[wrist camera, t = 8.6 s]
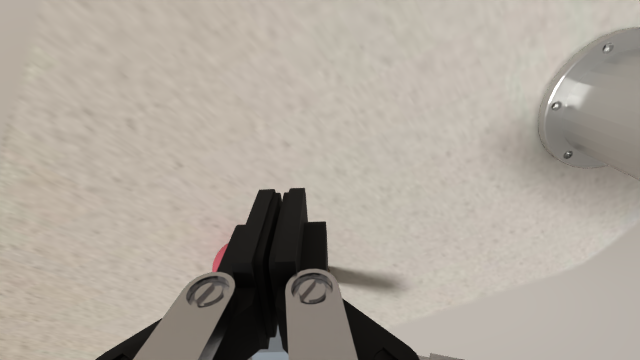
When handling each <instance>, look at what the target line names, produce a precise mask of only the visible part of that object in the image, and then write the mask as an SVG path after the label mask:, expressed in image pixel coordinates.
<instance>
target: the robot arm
mask: <svg viewBox="0 0 640 360" xmlns="http://www.w3.org/2000/svg"><path fill="white" fill-rule="evenodd" d="M538 130H539V135H540V138H541V142H542V143H543V145H544V147H545V148H546V150H547V151H548V152H549V153H550V154H551V155H552V156H553V157H555V158H556V159H558V160H560V161H562V162H563V163H566V164H568V165H571V166H574V167H580V168H598V167H603V166H608V165H609V166H611V167H614V168H616V169H618V170H620V171H622V172H624V173H626V174H628V175H630V176H632V177H634V178H637V179H639V180H640V27H639V28H628V29H623V30H618V31H615V32H612V33H610V34H607V35H605V36H602V37H600V38H599V39H597V40H595V41H594V42H592V43H590V44H588V45H587V46H585V47H584V48H583V49H582V50H580V51H579V52H578V53H576V54H575V55H574V56H573V57H572V58H571V59H570V60H569V61H568V62H567V63H566V64H565V65H564V66H563V67H562V68H561V69H560V71H559V72H558V74H557V75H556V76H555V78H554V79H553V80H552V82H551V84H550V86H549V87H548V89H547V91H546V93H545V95H544V98H543V101H542V104H541V106H540V111H539V117H538ZM278 327H279V333H280V337H281V342H282V348H283V349H284V351H285V352H286V353H287V354H288V356H289V360H463V359H457V358H452V357H447V356H441V355H437V354H432V353H431V354H430V358H429V357H424V356H419V355H417V354H416V353H415V352H414V351H413V350H412V349H411V348H410V347H409V346H408V345H406V344H405V343H404V342H402V341H401V340H399V339H398V338H397V337H395V336H394V335H392V334H391V333H389V332H388V331H387V330H386V329H384V328H383V327H381V326H380V325H379V324H377V323H376V322H374V321H373V320H372V319H370V318H369V317H368V316H366V315H365V314H363V313H362V312H361V311H359V310H358V309H356V308H355V307H354V306H352V305H351V304H350V303H348V302H347V301H345V300H344V299H343V298H342V296H341V292H340V288H339V285H338V282H337V280H336V278H335V277H334V276H333V275H332V274H331V273H329V272H328V253H327V231H326V222H308V217H307V205H306V193H305V188H291V189H290V190H289V192H287V193H284V196H283V200H282V199H281V194H280V193H276V192H275V189H267V190H259V191H258V194H257V197H256V199H255V202H254V204H253V207H252V209H251V212H250V215H249V217H248V220H247V222H246V225H237V226H236V228H235V230H234V232H233V234H232V237H231V239H230V241H229V243H228V246H227V248H226V250H225V253H224V255H223V257H222V260H221V262H220V264H219V267H218V269H217V271H216V272H211V273H207V274H203V275H201V276H199V277H197V278H195V279H194V280H192V281H191V282H190V283H189V284H188V285H187V286H186V287H185V288H184V289H183V290H182V292H181V293H180V295H179V296H178V297H177V299H176V300H175V302H174V303H173V304H172V306H171V307H170V309H169V310H168V311H167V313H166V314H165V316H164V317H163V318H162V319H160V320H158V321H157V322H155V323H153V324H152V325H150V326H148V327H147V328H145V329H143V330H142V331H140V332H139V333H137V334H135V335H134V336H132V337H130V338H129V339H127V340H125V341H124V342H122V343H120V344H119V345H117V346H115V347H114V348H112V349H110V350H109V351H107V352H105V353H104V354H102V355H101V356H100V357H98V358H97V359H96V360H252V356H253V355H254V354H255V353H257V352H258V351H259V350H260V349H268V348H269V342H270V338H275V337H276V334H277V328H278Z"/></svg>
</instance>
